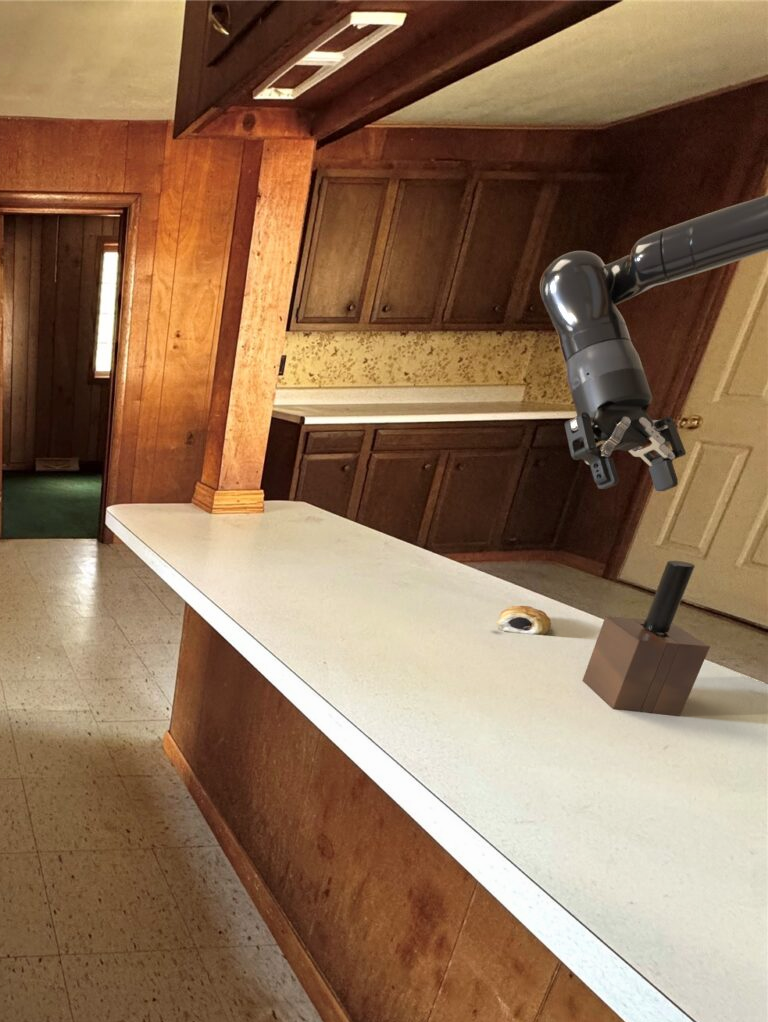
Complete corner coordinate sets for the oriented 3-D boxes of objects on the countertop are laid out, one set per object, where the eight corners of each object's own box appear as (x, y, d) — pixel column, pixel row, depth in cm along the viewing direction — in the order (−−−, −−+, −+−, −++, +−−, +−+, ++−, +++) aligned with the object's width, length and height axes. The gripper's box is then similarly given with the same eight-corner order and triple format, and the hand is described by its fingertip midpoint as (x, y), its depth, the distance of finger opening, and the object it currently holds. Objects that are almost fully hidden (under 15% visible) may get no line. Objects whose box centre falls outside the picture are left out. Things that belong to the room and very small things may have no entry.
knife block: (641, 692, 92) (669, 620, 88) (677, 722, 85) (710, 646, 81) (579, 686, 94) (605, 616, 90) (610, 715, 87) (639, 640, 83)
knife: (633, 693, 90) (685, 560, 83) (646, 704, 88) (701, 568, 81) (611, 690, 91) (661, 559, 84) (623, 701, 88) (676, 566, 81)
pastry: (506, 613, 118) (512, 593, 117) (554, 624, 113) (561, 604, 112) (493, 629, 112) (499, 608, 111) (543, 641, 108) (550, 620, 106)
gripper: (585, 363, 88) (618, 473, 84) (682, 368, 90) (719, 477, 85) (535, 395, 96) (562, 498, 91) (624, 399, 97) (656, 501, 92)
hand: (638, 487), depth 88 cm, fingers open, 8 cm apart
